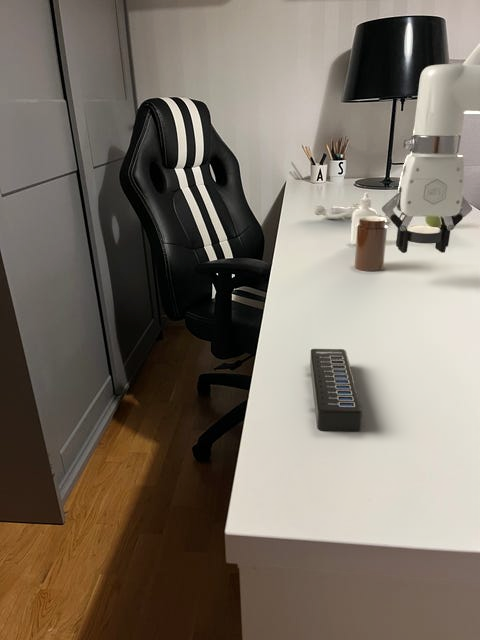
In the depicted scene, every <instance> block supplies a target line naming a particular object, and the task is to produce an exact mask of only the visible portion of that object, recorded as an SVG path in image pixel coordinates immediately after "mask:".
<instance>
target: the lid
mask: <svg viewBox="0 0 480 640" xmlns="http://www.w3.org/2000/svg"><path fill="white" fill-rule="evenodd" d="M407 231H409V239H408V242H410V243H416V244H424V245H425V244H426V245H429V244H430V245H432V244H436V243H438V242H440V241H441V238H442V230H441V229H439V227H431V226H429V225H411V226H410V225H409V226H408V228H407Z"/></svg>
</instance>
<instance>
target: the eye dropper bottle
mask: <svg viewBox="0 0 480 640" xmlns="http://www.w3.org/2000/svg"><path fill="white" fill-rule="evenodd" d="M359 206H360V207H359V208H360V209H357V210H355V211H354V212H353V214H352V219H351V229H350V243H351V244H352V245H354V246H356V235H357V225H359V221H360V220H359V219H360V218H361V217H365V216H377V214H378V212H377V211H376V210H375V209H373V208H372V207H371V206H372V199H371V198H370V197H369V192H364V194H363V197H361V198H360V201H359Z"/></svg>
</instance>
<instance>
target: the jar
mask: <svg viewBox="0 0 480 640" xmlns="http://www.w3.org/2000/svg"><path fill="white" fill-rule="evenodd" d="M359 220H360V221H359V225H357V235H356V245H355V251H354V264H353V267H354V268H355V269H356V270H358V271H363V272H379V271H382V270H383V269H384V265H385V254H386V245H387V244H386V242H387V233H388V226H387V225H386V223H387V222H386V219H385V218H383V217H377V216H365V217H361V218H360V219H359Z"/></svg>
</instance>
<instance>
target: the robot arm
mask: <svg viewBox="0 0 480 640" xmlns="http://www.w3.org/2000/svg"><path fill="white" fill-rule="evenodd" d="M465 114H480V42H479V43H478V44H477V45H476V47H475V48H474V49H473V50H472V52H471V53H470V54H469V55H468V57H467V58H466V59H465V60H464V61H463V63H462V64H461V63H460V64H459V63H443V64H433V65H428V66H426V67H425V68H424V69H422V71H421V73H420V77H419V83H418V91H417V99H416V108H415V117H414V124H413V135H411V138H409V139H404V141H403V148H404V149H408V150H409V152H410V154H406V157H405V161H404V164H403V166H402V167H403V168H402V171H401V175H400V179H399V185H398V190H397V192H396V194H395V195H394V196H393V197H392V198H391V199H389V200H388V201H387V202H386V203H385V204H384V205H382V207H381V210H382V212H383V213H384V215H387V216H388V217H389V219H390V222H392V223H393V225H394V226H395V227H396V228H397V231H396V240H395V245H396V247H397V249H398V251H400V252H401V254H406V253H407V252H408V246H409V241H408V239H409V231H407V228H408V227H409V226H410V223H411V222H412V220H413V218H414V217H418V218H419V217H421V218H422V217H425V216H439V218H440V221H441V226H440V227H438V228H439V229H441V230H442V238H441V241H440V242H438V243H435V246H434V249H436V250H437V251H438V252H439V253H446V248H448V247H449V243H450V236H451V231H453V230H454V229H455V227H456V226H457V225H458V224H459V223H461V222H462V221H463V218H465V217H467V215H468V214H470V213H471V212H472V211H473V207H472V205H471V204H470V203H469V202H468V201H467V199H466V198H465V197H464V196H463V194H464V181H465V180H464V178H465V177H464V176H465V166H464V165H465V164H464V155H461V154H459V152H460V144H461V138H462V131H463V125H464V119H465ZM395 208H396V209H397V210H398V211H399V212H401V213H400V214H399V216H398V215H397V214H396V213H395V211H394V209H395Z"/></svg>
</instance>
